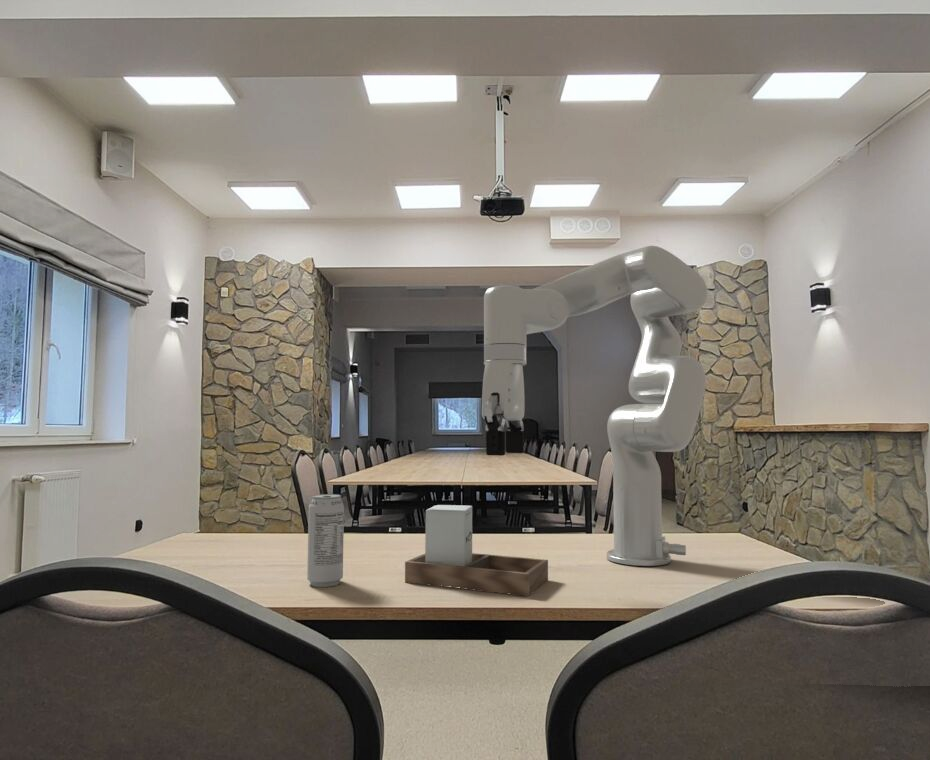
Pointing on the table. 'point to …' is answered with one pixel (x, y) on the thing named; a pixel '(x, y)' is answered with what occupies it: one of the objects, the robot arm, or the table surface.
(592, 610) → the table surface
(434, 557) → the supplement box
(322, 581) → the energy drink can
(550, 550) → the table surface
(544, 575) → the frame
